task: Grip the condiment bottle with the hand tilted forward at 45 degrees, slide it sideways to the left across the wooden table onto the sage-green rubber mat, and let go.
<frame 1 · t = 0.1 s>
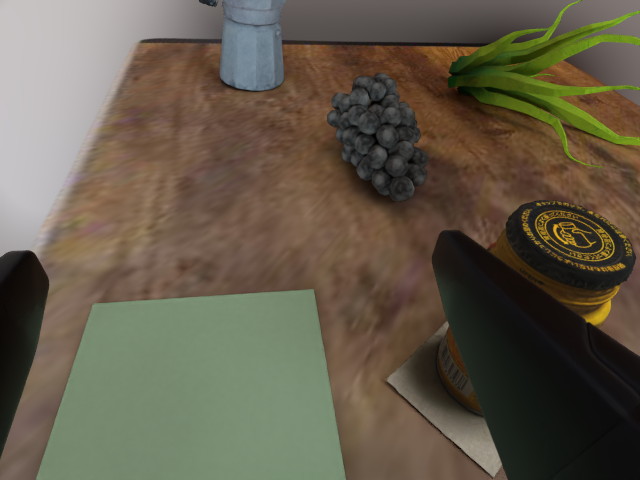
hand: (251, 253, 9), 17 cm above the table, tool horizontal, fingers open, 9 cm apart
condiment: (472, 382, 26), on the table
moka pot: (249, 80, 58), on the table
decorative plant: (561, 130, 53), on the table
fruit: (372, 175, 43), on the table
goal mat: (196, 465, 21), on the table
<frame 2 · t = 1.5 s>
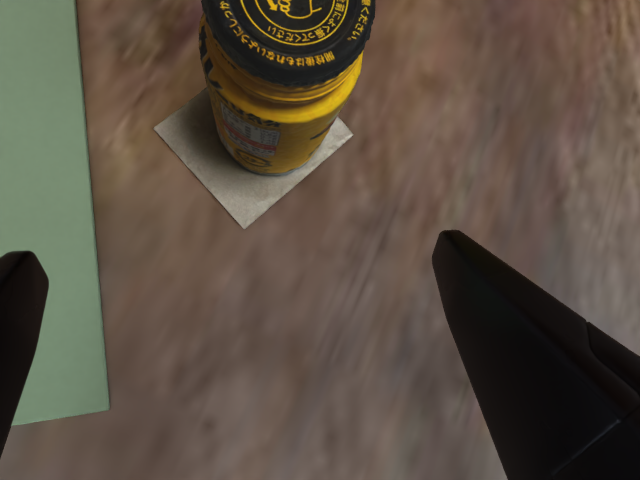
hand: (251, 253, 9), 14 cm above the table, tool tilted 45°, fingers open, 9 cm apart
condiment: (257, 134, 24), on the table
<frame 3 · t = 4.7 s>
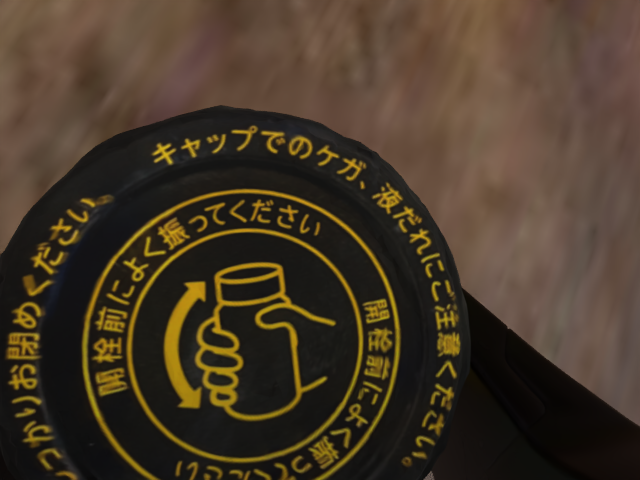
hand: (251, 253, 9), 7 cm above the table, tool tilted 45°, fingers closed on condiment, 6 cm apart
condiment: (237, 294, 16), on the table, touching gripper
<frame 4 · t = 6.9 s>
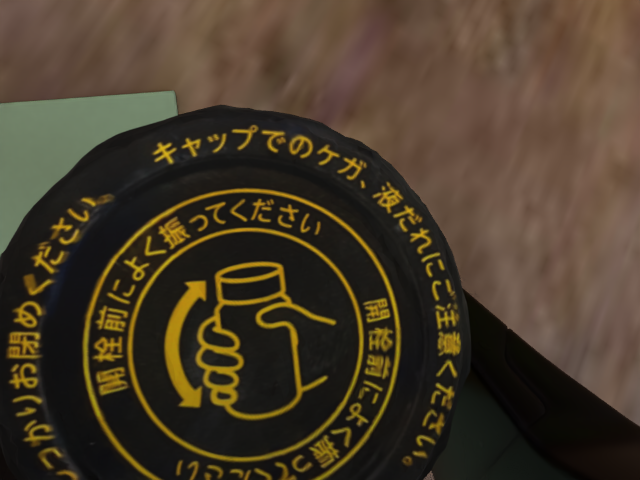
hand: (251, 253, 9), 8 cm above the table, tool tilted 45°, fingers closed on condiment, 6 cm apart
condiment: (237, 294, 16), point 1 cm above the table, touching gripper
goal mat: (6, 397, 16), on the table
when the fingers open (7 cm above the table, at t = 9.3 s): condiment stays where it is, resting on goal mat.
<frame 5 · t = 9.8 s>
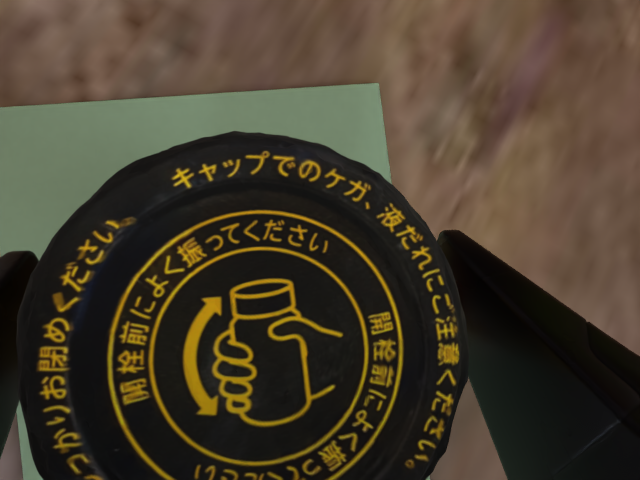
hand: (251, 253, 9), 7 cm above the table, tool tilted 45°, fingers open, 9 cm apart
condiment: (239, 298, 16), resting on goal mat
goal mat: (228, 372, 16), on the table
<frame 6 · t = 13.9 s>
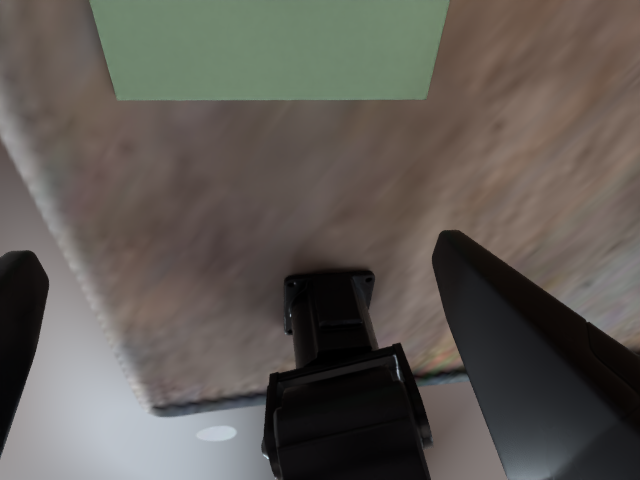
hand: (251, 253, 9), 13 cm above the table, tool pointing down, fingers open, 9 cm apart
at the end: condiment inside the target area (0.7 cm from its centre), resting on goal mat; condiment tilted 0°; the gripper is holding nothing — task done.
